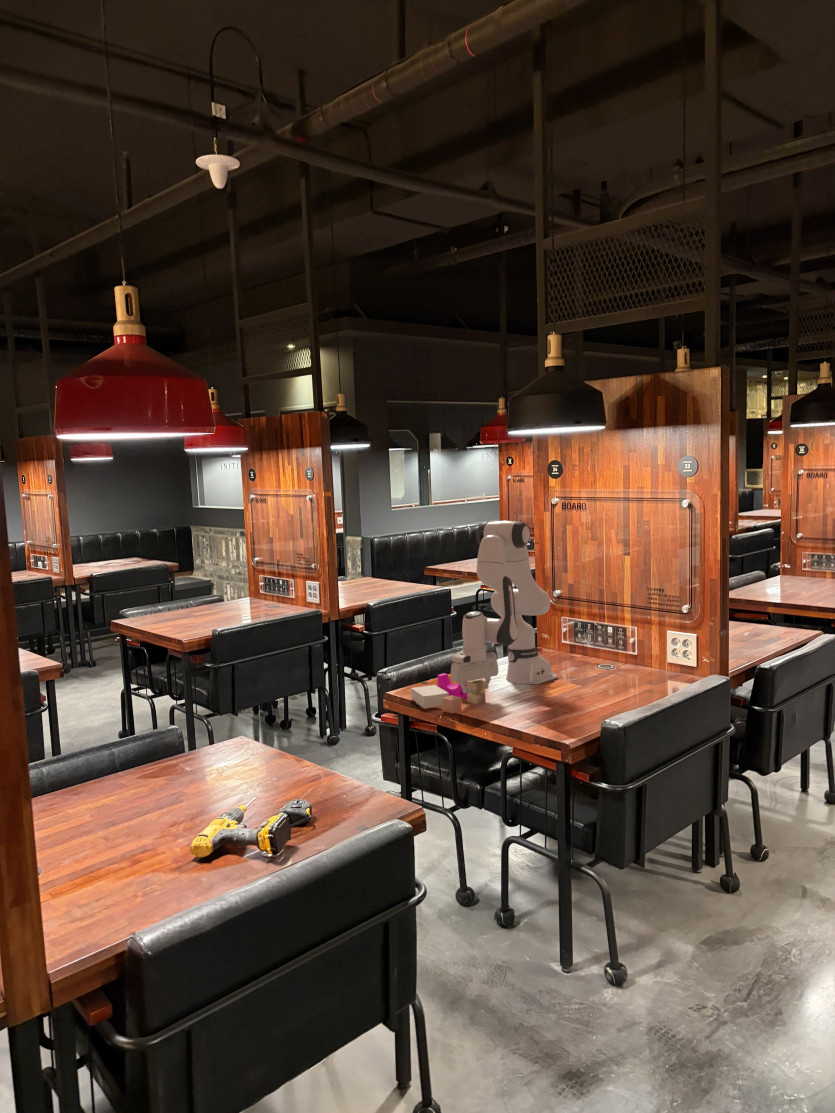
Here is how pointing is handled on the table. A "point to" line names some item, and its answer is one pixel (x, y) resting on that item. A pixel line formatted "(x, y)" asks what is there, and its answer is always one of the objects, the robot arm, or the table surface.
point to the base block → (428, 696)
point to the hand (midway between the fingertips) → (475, 690)
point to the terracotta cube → (451, 704)
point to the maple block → (476, 691)
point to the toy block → (451, 686)
